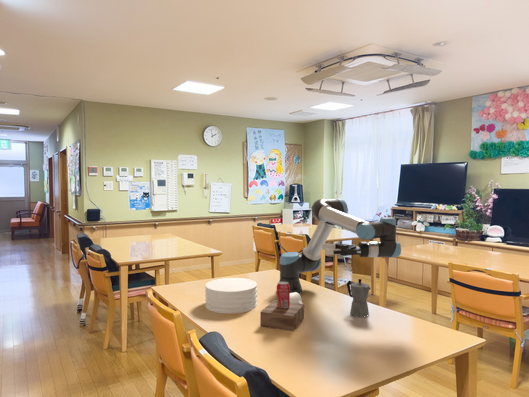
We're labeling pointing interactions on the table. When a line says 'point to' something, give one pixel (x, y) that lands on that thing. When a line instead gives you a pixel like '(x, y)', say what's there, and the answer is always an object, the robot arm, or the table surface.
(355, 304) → the coffeepot
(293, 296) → the mug
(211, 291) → the plate stack
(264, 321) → the walnut block
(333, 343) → the table surface
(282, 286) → the beverage can
